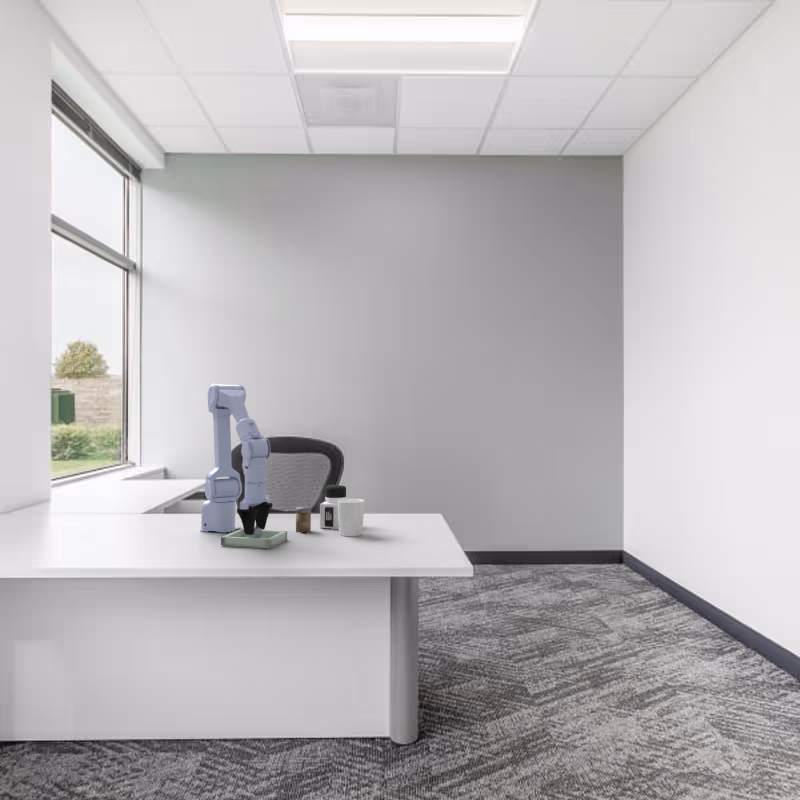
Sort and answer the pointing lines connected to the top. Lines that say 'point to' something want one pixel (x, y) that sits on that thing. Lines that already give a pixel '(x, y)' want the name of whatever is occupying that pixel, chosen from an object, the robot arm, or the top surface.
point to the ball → (256, 533)
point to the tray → (254, 539)
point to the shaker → (303, 519)
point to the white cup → (350, 516)
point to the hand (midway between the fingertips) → (254, 531)
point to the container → (331, 506)
